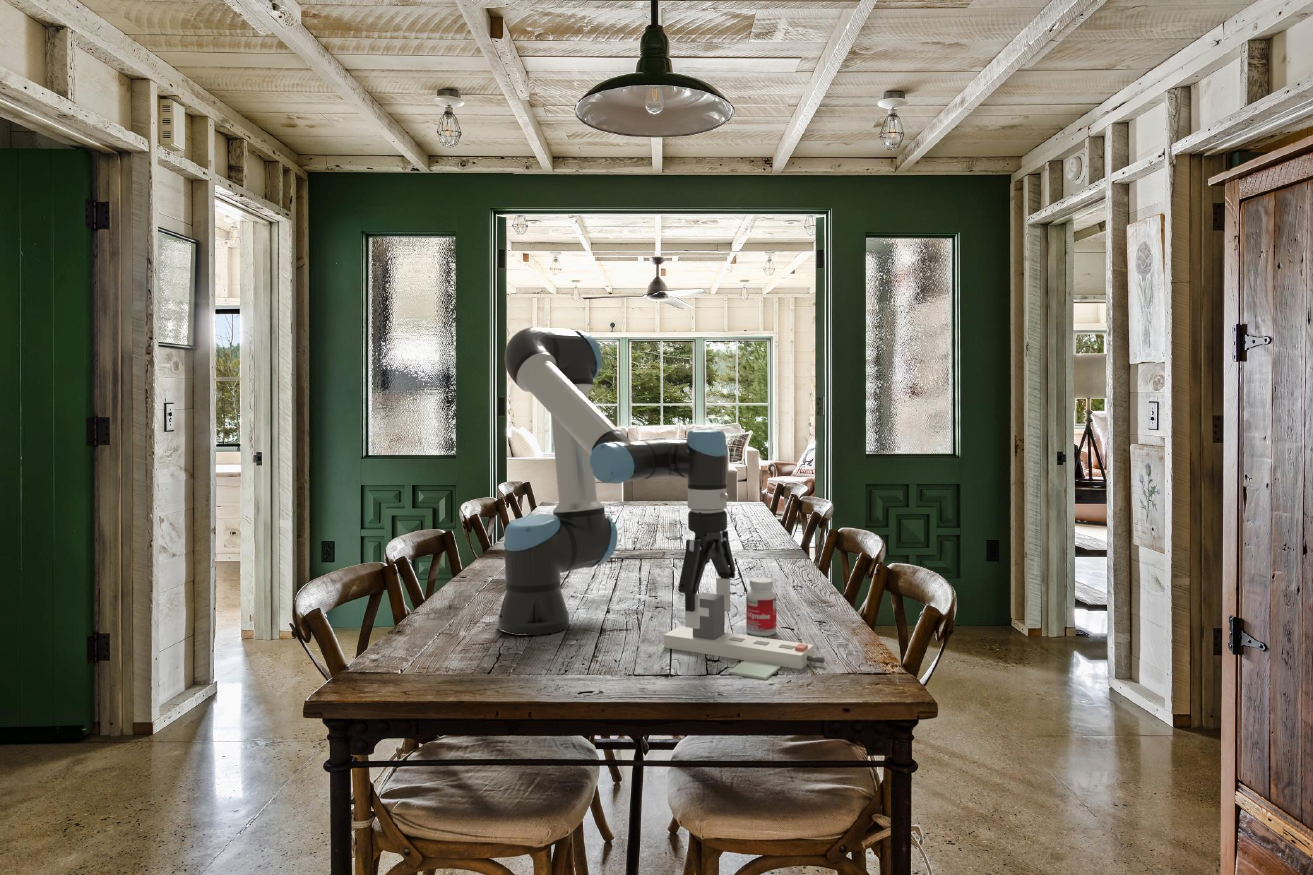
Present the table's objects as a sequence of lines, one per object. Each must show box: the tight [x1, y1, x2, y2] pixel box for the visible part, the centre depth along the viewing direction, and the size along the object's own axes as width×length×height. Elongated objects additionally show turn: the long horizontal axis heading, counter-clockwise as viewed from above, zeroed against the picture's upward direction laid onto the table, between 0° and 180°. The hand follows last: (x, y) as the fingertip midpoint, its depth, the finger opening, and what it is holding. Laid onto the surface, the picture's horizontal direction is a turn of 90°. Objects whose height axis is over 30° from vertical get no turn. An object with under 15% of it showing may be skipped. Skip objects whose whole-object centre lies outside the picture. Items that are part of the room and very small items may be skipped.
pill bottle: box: [745, 577, 777, 637], centre depth 169 cm, size 6×6×11 cm
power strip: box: [663, 625, 825, 670], centre depth 155 cm, size 31×7×3 cm, turn 60°
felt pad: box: [728, 660, 782, 681], centre depth 146 cm, size 7×7×1 cm
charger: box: [693, 592, 726, 640], centre depth 159 cm, size 5×5×10 cm
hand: (708, 619), depth 159 cm, fingers open, 13 cm apart
